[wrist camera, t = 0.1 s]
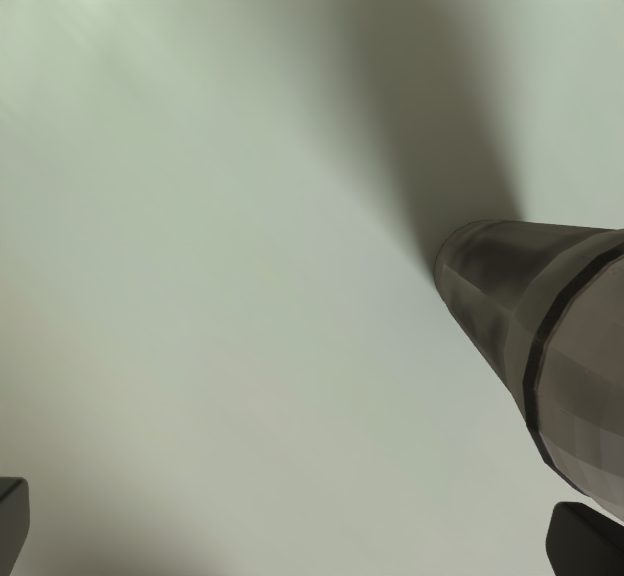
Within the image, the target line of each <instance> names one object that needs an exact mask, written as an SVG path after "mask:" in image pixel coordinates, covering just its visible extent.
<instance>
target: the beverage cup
mask: <svg viewBox="0 0 624 576" xmlns="http://www.w3.org/2000/svg"><path fill="white" fill-rule="evenodd" d="M434 276H435V283H436V288H437V290H438V292H439V294H440V296H441V298H442V300H443V301H444V302H445V304H446V306H447V308H448V310H449V312H450V313H451V315H452V316H453V317H454V319H455V320H456V321H457V323H458V324H459V325H460V327H461V328H462V329H463V331H464V332H465V333H466V335H467V336H468V337H469V339H470V340H471V341H472V342H473V344H474V345H475V346H476V348H477V349H478V350H479V352H480V353H481V354H482V356H483V357H484V358H485V360H486V361H487V362H488V364H489V365H490V366H491V368H492V369H493V370H494V372H495V373H496V374H497V375H498V377H499V378H500V379H501V381H502V382H503V383H504V385H505V386H506V387H507V389H508V390H509V391H510V393H511V394H512V396H513V398H514V400H515V402H516V404H517V406H518V408H519V410H520V412H521V414H522V416H523V418H524V420H525V422H526V426H527V428H528V430H529V432H530V434H531V436H532V438H533V440H534V442H535V444H536V446H537V449H538V451H539V453H540V455H541V457H542V459H543V461H544V462H545V463H546V464H547V465H548V466H549V467H550V468H551V469H553V470H554V471H555V472H556V473H557V474H558V475H559V476H560V477H561V478H563V479H564V480H565V481H566V482H567V483H568V484H569V485H570V486H571V487H573V488H574V489H575V490H577V491H579V492H580V493H582V494H584V495H586V496H588V497H591V498H592V499H593V500H594V501H595V502H597V503H598V504H599V505H600V506H601V507H602V508H603V509H605V510H606V511H608V512H609V513H611V514H612V515H614V516H616V517H617V518H619V519H620V520H622V521H623V522H624V229H619V230H614V229H602V228H590V227H578V226H567V225H555V224H543V223H532V222H520V221H508V220H497V221H488V220H484V221H479V222H474V223H470V224H468V225H466V226H464V227H462V228H461V229H459V230H457V231H455V232H454V233H453V234H452V236H451V237H450V238H449V239H448V240H447V241H446V242H445V243H444V244H443V246H442V248H441V250H440V252H439V254H438V256H437V259H436V264H435V270H434Z"/></svg>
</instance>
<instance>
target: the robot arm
mask: <svg viewBox="0 0 624 576" xmlns="http://www.w3.org/2000/svg"><path fill="white" fill-rule="evenodd" d="M29 525H30V510H29V487H28V483H27V480H26V479H24V478H22V477H0V576H9V575H10V573H11V571H12V569H13V566H14V564H15V562H16V560H17V557H18V555H19V553H20V551H21V548H22V546H23V544H24V542H25V539H26V537H27V534H28V531H29ZM546 552H547V556H548V558H549V561H550V563H551V566H552V568H553V571H554V573H555V575H556V576H624V526H622V525H620V524H618V523H617V522H615V521H613V520H611V519H610V518H608V517H606V516H604V515H603V514H601V513H599V512H597V511H595V510H594V509H592V508H590V507H588V506H587V505H585V504H583V503H580V502H562V501H561V502H558V503H557V504H556V505H555V506H554V509H553V513H552V517H551V521H550V525H549V529H548V533H547V537H546Z"/></svg>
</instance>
